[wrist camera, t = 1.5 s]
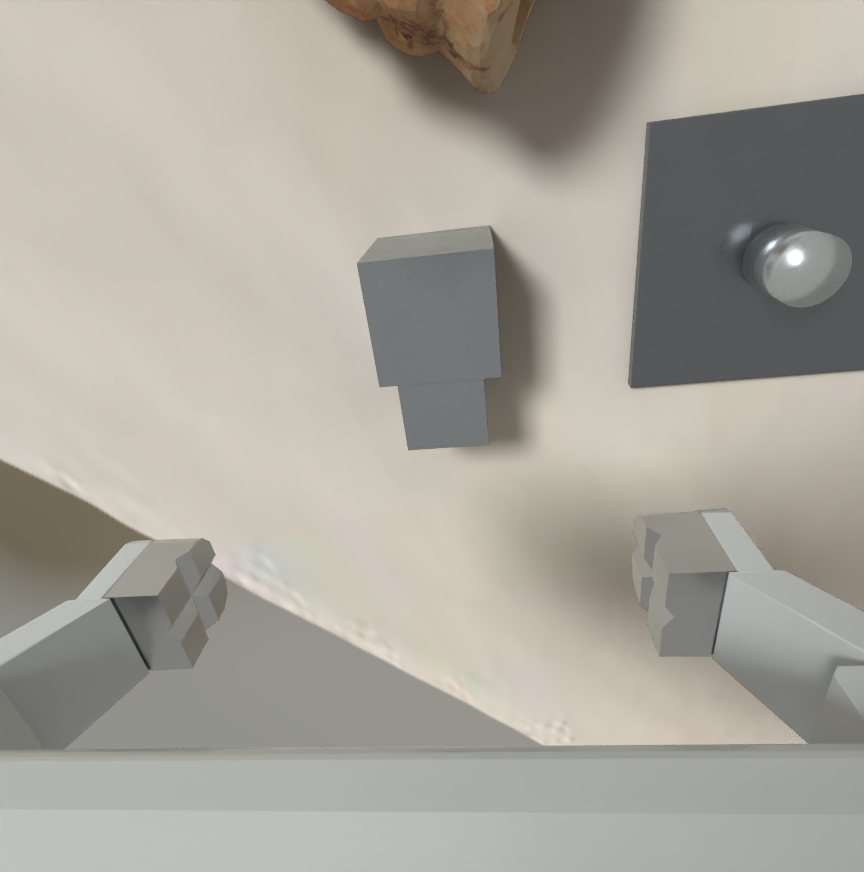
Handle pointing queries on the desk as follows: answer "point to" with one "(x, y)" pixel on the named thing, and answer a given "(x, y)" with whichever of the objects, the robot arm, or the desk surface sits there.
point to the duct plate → (715, 229)
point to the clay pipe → (452, 32)
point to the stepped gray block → (435, 330)
